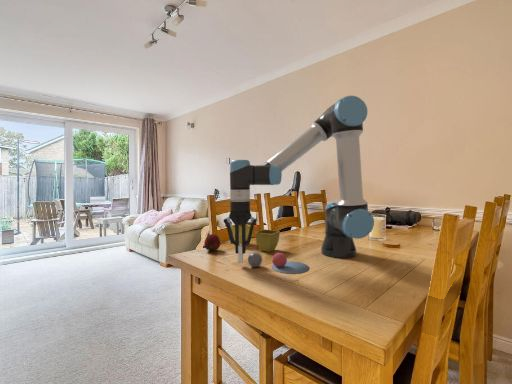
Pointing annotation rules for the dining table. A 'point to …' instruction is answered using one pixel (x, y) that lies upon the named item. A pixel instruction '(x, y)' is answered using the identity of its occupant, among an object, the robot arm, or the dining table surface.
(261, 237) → the flower pot
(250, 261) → the blue-grey ball
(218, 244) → the dark red bumpy ball
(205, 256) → the dining table surface
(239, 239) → the plant pot
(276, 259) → the object ball
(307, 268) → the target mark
